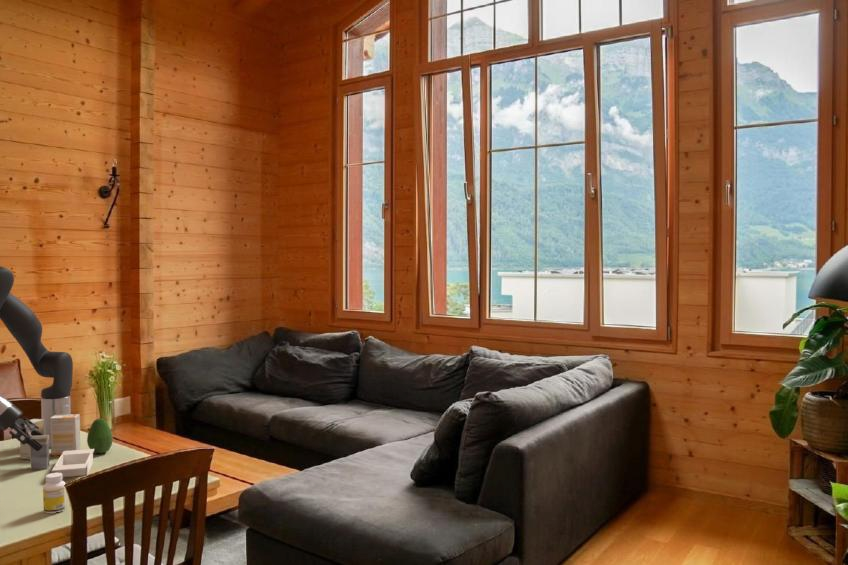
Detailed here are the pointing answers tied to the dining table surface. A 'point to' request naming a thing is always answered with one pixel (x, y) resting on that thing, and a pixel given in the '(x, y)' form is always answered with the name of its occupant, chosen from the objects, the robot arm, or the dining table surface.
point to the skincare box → (26, 449)
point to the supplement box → (65, 433)
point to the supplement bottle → (54, 493)
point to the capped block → (40, 454)
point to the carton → (74, 462)
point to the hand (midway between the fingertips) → (43, 445)
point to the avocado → (100, 436)
